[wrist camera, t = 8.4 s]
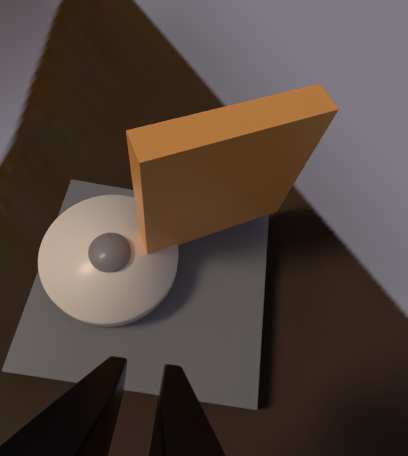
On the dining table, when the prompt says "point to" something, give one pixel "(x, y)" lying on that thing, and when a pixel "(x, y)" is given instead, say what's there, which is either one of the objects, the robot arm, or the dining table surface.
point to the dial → (178, 201)
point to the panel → (164, 321)
